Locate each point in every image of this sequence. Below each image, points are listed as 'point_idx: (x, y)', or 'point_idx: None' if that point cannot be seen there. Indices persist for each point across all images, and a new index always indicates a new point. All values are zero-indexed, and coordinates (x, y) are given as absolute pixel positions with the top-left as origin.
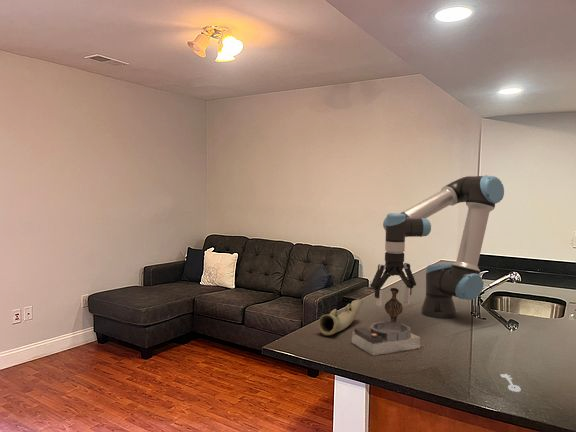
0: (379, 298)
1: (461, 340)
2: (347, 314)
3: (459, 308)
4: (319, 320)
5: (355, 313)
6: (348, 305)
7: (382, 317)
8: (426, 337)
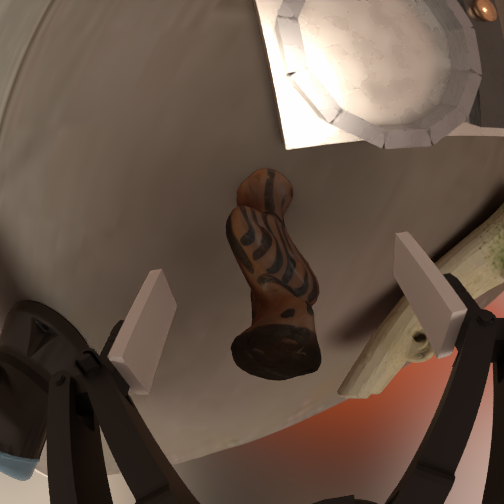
0: (433, 268)
1: (40, 73)
2: None
3: None
4: None
5: (393, 327)
6: None
7: None
8: (148, 105)
